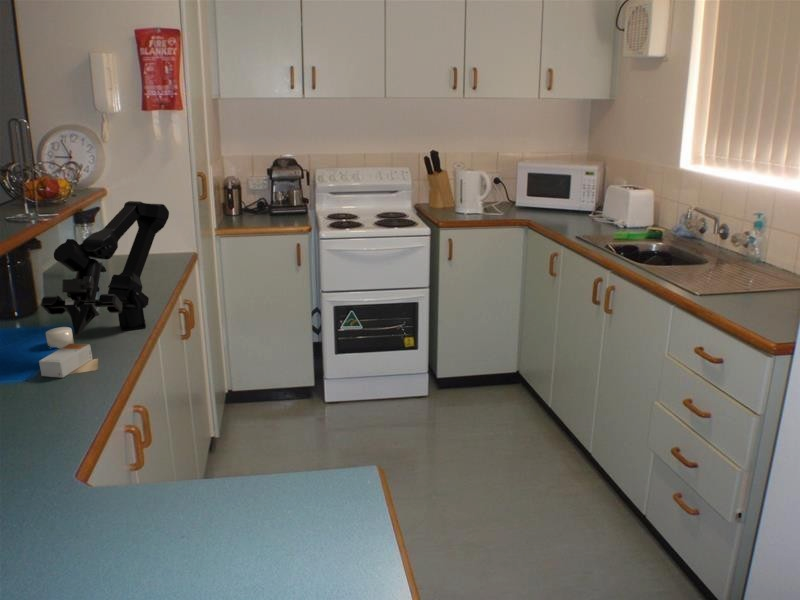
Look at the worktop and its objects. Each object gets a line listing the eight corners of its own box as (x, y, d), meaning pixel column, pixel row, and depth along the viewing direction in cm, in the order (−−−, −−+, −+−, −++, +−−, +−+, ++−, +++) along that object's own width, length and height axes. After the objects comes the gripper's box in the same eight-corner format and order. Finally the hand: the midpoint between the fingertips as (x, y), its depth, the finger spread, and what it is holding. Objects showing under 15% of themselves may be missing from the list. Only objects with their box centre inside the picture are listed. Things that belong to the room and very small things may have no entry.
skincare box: (90, 343, 178) (60, 362, 167) (93, 359, 180) (63, 378, 169) (69, 342, 180) (37, 360, 168) (72, 357, 181) (41, 377, 170)
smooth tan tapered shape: (98, 360, 180) (98, 358, 180) (98, 372, 173) (97, 369, 173) (55, 366, 177) (55, 364, 177) (53, 378, 170) (53, 376, 170)
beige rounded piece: (74, 339, 195) (72, 325, 193) (73, 347, 189) (71, 333, 188) (49, 342, 192) (46, 329, 191) (47, 350, 187) (44, 336, 185)
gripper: (37, 265, 176) (24, 321, 169) (112, 263, 176) (102, 319, 169) (55, 286, 186) (44, 340, 178) (126, 284, 186) (118, 338, 179)
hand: (76, 334), depth 176 cm, fingers closed
